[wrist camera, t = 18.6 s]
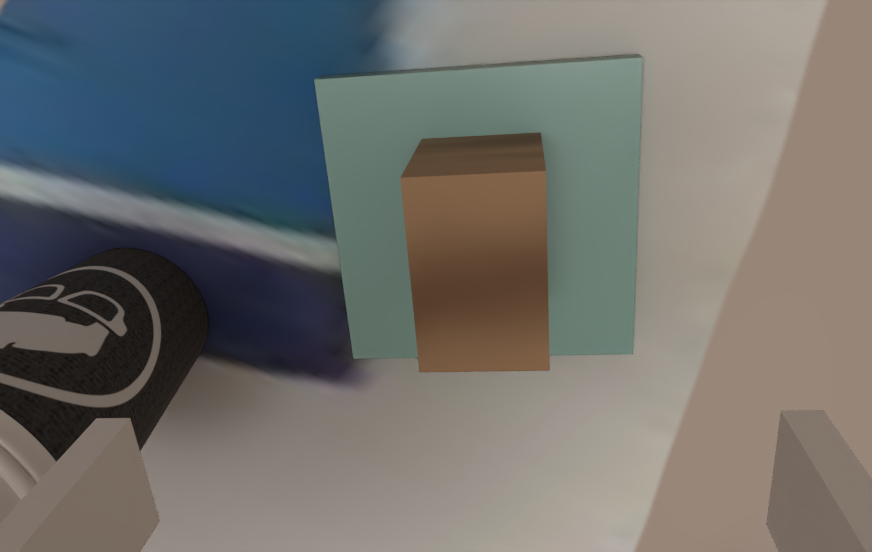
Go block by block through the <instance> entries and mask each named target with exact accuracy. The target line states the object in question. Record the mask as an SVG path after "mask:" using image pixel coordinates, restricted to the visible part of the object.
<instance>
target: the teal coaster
mask: <svg viewBox="0 0 872 552" xmlns="http://www.w3.org/2000/svg"><path fill="white" fill-rule="evenodd" d="M642 68H643V57H642V56H640V55H639V54H635V55H620V56H606V57H591V58H576V59H562V60H547V61H532V62H518V63H503V64H488V65H474V66H459V67H444V68H429V69H415V70H400V71H385V72H371V73H356V74H341V75H327V76H320V77H318V78H316V79H314V82H315V89H316V96H317V103H318V110H319V117H320V125H321V132H322V139H323V146H324V153H325V160H326V167H327V174H328V181H329V189H330V196H331V203H332V210H333V217H334V224H335V231H336V238H337V245H338V253H339V260H340V267H341V274H342V281H343V288H344V295H345V302H346V309H347V317H348V324H349V331H350V338H351V345H352V352H353V359H374V358H418V352H417V342H416V332H415V322H414V312H413V302H412V292H411V281H410V271H409V261H408V251H407V241H406V231H405V221H404V211H403V201H402V191H401V181H400V177H401V175H402V174H403V172H404V170H405V168H406V166H407V165H408V163H409V161H410V159H411V157H412V156H413V154H414V152H415V150H416V148H417V146H418V145H419V143H420V141H421V139H428V138H447V137H465V136H483V135H502V134H520V133H538V132H541V138H542V145H543V152H544V160H545V167H546V196H547V251H548V307H549V356H552V355H611V354H633V343H634V313H635V282H636V251H637V221H638V190H639V160H640V129H641V98H642Z"/></svg>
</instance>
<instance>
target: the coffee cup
mask: <svg viewBox="0 0 872 552" xmlns="http://www.w3.org/2000/svg"><path fill="white" fill-rule="evenodd" d="M207 334H208V316H207V311H206V307H205V304H204V302H203V299H202V297H201V295H200V293H199V291H198V290H197V288H196V287H195V285H194V284H193V283H192V281H191V280H190V279H189V278H188V277H187V276H186V275H185V274H184V273H183V272H182V271H181V270H180V269H179V268H178V267H176V266H175V265H174V264H172V263H171V262H169V261H168V260H166V259H164V258H162V257H160V256H158V255H156V254H153V253H150V252H147V251H144V250H139V249H132V248H118V249H111V250H107V251H104V252H102V253H99V254H97V255H95V256H93V257H91V258H89V259H87V260H85V261H83V262H81V263H79V264H77V265H76V266H74V267H72V268H70V269H68V270H66V271H64V272H62V273H60V274H58V275H56V276H54V277H52V278H50V279H48V280H46V281H44V282H42V283H40V284H39V285H37V286H35V287H33V288H31V289H29V290H27V291H25V292H23V293H21V294H19V295H17V296H15V297H13V298H11V299H9V300H7V301H5V302H3V303H1V304H0V523H1V522H2V521H3V520H4V519H5V518H6V517H7V515H8V514H9V513H10V512H11V511H12V510H13V509H14V508H15V507H16V506H17V505H18V503H19V502H20V501H21V500H22V499H23V498H24V497H25V496H26V495H27V494H28V493H29V491H30V490H31V489H32V488H33V487H34V486H35V485H36V484H37V483H38V482H39V480H40V479H41V478H42V477H43V476H44V475H45V474H46V473H47V472H48V471H49V470H50V468H51V467H52V466H53V465H54V464H55V463H56V462H57V461H58V460H59V459H60V458H61V456H62V455H63V454H64V453H65V452H66V451H67V450H68V449H69V448H70V447H71V446H72V444H73V443H74V442H75V441H76V440H77V439H78V438H79V437H80V436H81V435H82V434H83V432H84V431H85V430H86V429H87V428H88V427H89V426H90V425H91V424H92V423H93V421H94V420H95V419H96V418H130V419H131V422H132V426H133V429H134V433H135V436H136V440H137V443H138V447H139V450H141V449H142V447H143V446H144V444H145V442H146V441H147V439H148V437H149V436H150V434H151V432H152V431H153V429H154V428H155V426H156V424H157V423H158V421H159V419H160V418H161V416H162V415H163V413H164V411H165V410H166V408H167V406H168V405H169V403H170V401H171V400H172V398H173V397H174V395H175V393H176V392H177V390H178V388H179V387H180V385H181V384H182V382H183V380H184V379H185V377H186V375H187V374H188V372H189V371H190V369H191V367H192V366H193V364H194V362H195V361H196V359H197V358H198V356H199V354H200V353H201V351H202V349H203V347H204V345H205V342H206V339H207Z"/></svg>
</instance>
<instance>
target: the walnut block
mask: <svg viewBox="0 0 872 552" xmlns="http://www.w3.org/2000/svg"><path fill="white" fill-rule="evenodd" d="M400 181H401V191H402V201H403V211H404V221H405V231H406V241H407V251H408V261H409V271H410V281H411V292H412V302H413V312H414V322H415V332H416V342H417V352H418V362H419V372H471V371H546V370H550V363H549V307H548V251H547V196H546V167H545V160H544V152H543V145H542V138H541V132H538V133H520V134H502V135H483V136H465V137H447V138H428V139H421V141H420V143H419V145H418V146H417V148H416V150H415V152H414V154H413V156H412V157H411V159H410V161H409V163H408V165H407V166H406V168H405V170H404V172H403V174H402V175H401V177H400Z"/></svg>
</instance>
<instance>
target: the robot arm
mask: <svg viewBox="0 0 872 552" xmlns="http://www.w3.org/2000/svg"><path fill="white" fill-rule="evenodd" d="M159 521H160V519H159V516H158V512H157V509H156V505H155V502H154V498H153V495H152V491H151V488H150V485H149V481H148V478H147V474H146V471H145V467H144V464H143V460H142V457H141V453H140V450H139V447H138V443H137V440H136V436H135V433H134V429H133V426H132V422H131V419H130V418H96V419H95V420H94V421H93V423H92V424H91V425H90V426H89V427H88V428H87V429H86V430H85V431H84V432H83V434H82V435H81V436H80V437H79V438H78V439H77V440H76V441H75V442H74V443H73V444H72V446H71V447H70V448H69V449H68V450H67V451H66V452H65V453H64V454H63V455H62V456H61V458H60V459H59V460H58V461H57V462H56V463H55V464H54V465H53V466H52V467H51V468H50V470H49V471H48V472H47V473H46V474H45V475H44V476H43V477H42V478H41V479H40V480H39V482H38V483H37V484H36V485H35V486H34V487H33V488H32V489H31V490H30V491H29V493H28V494H27V495H26V496H25V497H24V498H23V499H22V500H21V501H20V502H19V503H18V505H17V506H16V507H15V508H14V509H13V510H12V511H11V512H10V513H9V514H8V515H7V517H6V518H5V519H4V520H3V521H2V522H1V523H0V552H140V551H141V549H142V548H143V546H144V545H145V543H146V541H147V540H148V538H149V537H150V535H151V534H152V532H153V530H154V529H155V527H156V526H157V524H158V522H159ZM766 525H767V527H768V529H769V531H770V533H771V536H772V538H773V540H774V542H775V544H776V546H777V549H778V551H779V552H872V479H871V477H870V476H869V474H868V473H867V471H866V470H865V469H864V467H863V466H862V464H861V463H860V461H859V460H858V459H857V457H856V456H855V454H854V453H853V451H852V450H851V449H850V447H849V446H848V444H847V443H846V441H845V440H844V439H843V437H842V436H841V434H840V433H839V431H838V430H837V429H836V427H835V426H834V424H833V423H832V422H831V420H830V419H829V417H828V416H827V414H826V413H825V411H824V410H797V411H796V410H795V411H794V410H789V411H788V410H787V411H781V414H780V422H779V429H778V437H777V445H776V453H775V460H774V468H773V476H772V484H771V491H770V500H769V507H768V515H767V523H766Z"/></svg>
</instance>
